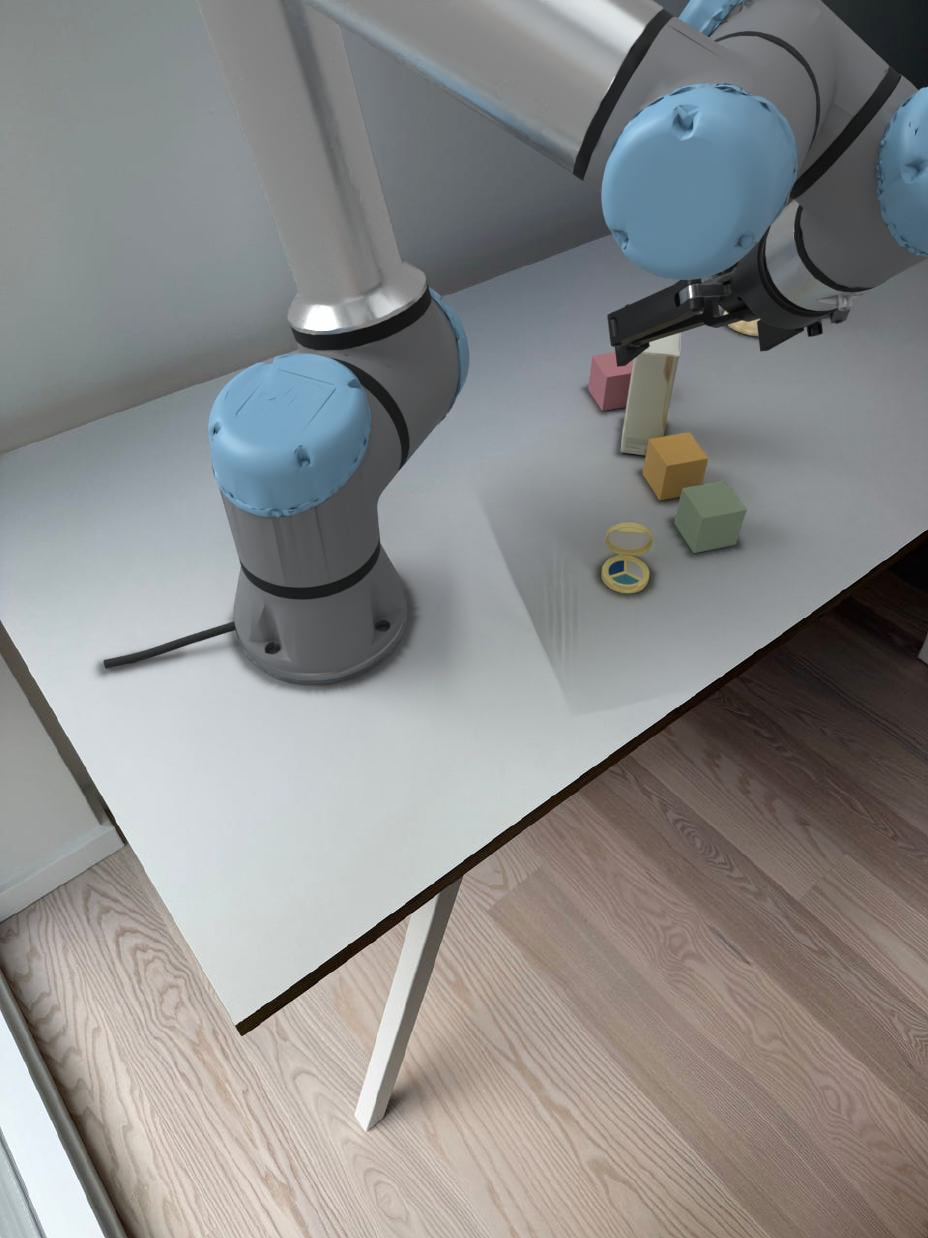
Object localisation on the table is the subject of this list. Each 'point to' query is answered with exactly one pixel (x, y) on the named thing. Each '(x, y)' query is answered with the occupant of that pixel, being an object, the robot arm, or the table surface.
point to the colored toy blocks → (675, 469)
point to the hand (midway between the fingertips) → (691, 343)
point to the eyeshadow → (627, 557)
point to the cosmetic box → (650, 394)
